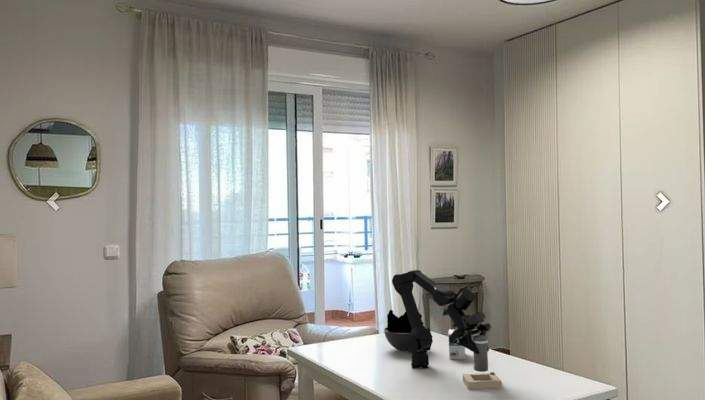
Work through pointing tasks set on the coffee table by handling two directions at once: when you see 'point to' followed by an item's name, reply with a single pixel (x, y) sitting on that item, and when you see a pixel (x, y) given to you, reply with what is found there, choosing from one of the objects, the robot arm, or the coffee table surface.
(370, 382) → the coffee table surface
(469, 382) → the tan square frame
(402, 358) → the coffee table surface
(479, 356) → the canister
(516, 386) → the coffee table surface
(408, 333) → the coal bowl
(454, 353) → the light bulb box
